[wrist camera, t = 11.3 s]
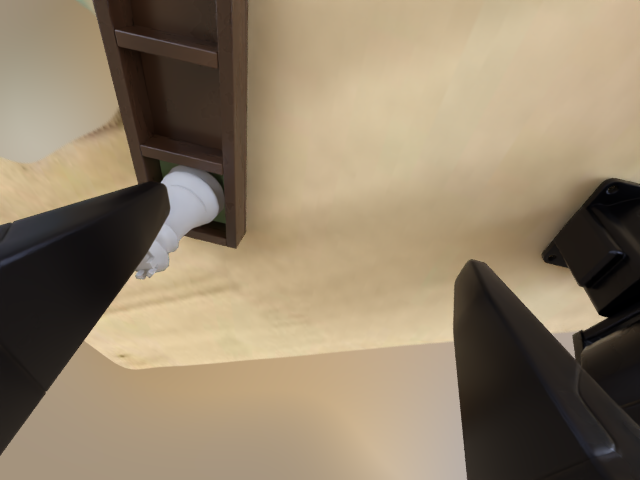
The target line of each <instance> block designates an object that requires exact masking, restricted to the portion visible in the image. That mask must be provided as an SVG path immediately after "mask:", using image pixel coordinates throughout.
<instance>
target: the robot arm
mask: <svg viewBox="0 0 640 480" xmlns="http://www.w3.org/2000/svg"><path fill="white" fill-rule="evenodd" d="M611 186H615V187H614V188H612V189H610V190H608V189H609V188H610V187H611ZM169 213H170V201H169V196H168V190H167V187H166V185H164V184H163V183H159V182H155V181H148V182H145V183H142V184H138V185H135V186H131V187H128V188H125V189H121V190H118V191H115V192H111V193H108V194H105V195H101V196H98V197H94V198H91V199H88V200H84V201H81V202H78V203H74V204H71V205H68V206H64V207H61V208H57V209H54V210H51V211H47V212H44V213H41V214H37V215H34V216H31V217H27V218H24V219H20V220H17V221H14V222H13V223H7V224H3V225H0V455H1V454H2V453H3V451H4V450H5V448H6V447H7V446H8V444H9V443H10V442H11V440H12V439H13V437H14V436H15V435H16V433H17V432H18V431H19V429H20V428H21V427H22V425H23V424H24V422H25V421H26V420H27V418H28V417H29V416H30V414H31V413H32V411H33V410H34V409H35V407H36V406H37V404H38V403H39V402H40V400H41V399H42V398H43V396H44V395H45V393H46V392H45V391H47V390H48V389H49V388H50V386H51V385H52V384H53V382H54V381H55V379H56V378H57V376H58V375H59V374H60V373H61V371H62V370H63V368H64V367H65V366H66V364H67V363H68V362H69V360H70V359H71V357H72V356H73V355H74V353H75V352H76V351H77V349H78V348H79V346H80V345H81V344H82V342H83V341H84V340H85V338H86V337H87V336H88V334H89V333H90V331H91V330H92V329H93V327H94V326H95V325H96V323H97V322H98V320H99V319H100V318H101V316H102V315H103V314H104V312H105V311H106V309H107V308H108V307H109V305H110V304H111V303H112V301H113V300H114V298H115V297H116V296H117V294H118V293H119V292H120V290H121V289H122V287H123V286H124V285H125V283H126V282H127V281H128V279H129V278H130V276H131V275H132V274H133V272H134V271H135V270H136V268H137V267H138V265H139V264H140V263H141V261H142V260H143V258H144V257H145V256H146V254H147V252H148V251H149V249H150V248H151V246H152V244H153V242H154V240H155V239H156V237H157V235H158V233H159V232H160V230H161V228H162V226H163V224H164V223H165V221H166V219H167V217H168V215H169ZM551 255H553V256H551ZM549 256H551V257H549ZM542 258H543V260H544V261H545V262H546V263H550V264H554V265H558V266H562V267H566V268H569V269H570V271H571V273H572V275H573V276H574V278H575V280H576V282H577V284H578V285H579V286H581V287H583V288H584V290H585V291H586V293H587V295H588V297H589V298H590V300H591V302H592V303H593V305H594V307H595V309H596V310H597V312H598V314H599V315H601V316H604V317H608V318H607V319H605V320H603V321H601V322H599V323H598V324H596V325H594V326H592V327H590V328H588V329H587V330H585V331H583V330H581V331H579V332H577V333H575V334H574V335H573V343H574V350H575V358H576V360H575V359H574V358H573V357H572V356H571V355H570V353H569V352H568V351H567V350H566V349H565V348H564V347H563V346H562V345H561V344H560V343H559V342H558V340H556V338H555V337H554V336H553V335H552V334H551V333H550V332H549V331H548V330H547V329H546V328H545V326H544V325H543V324H542V323H541V322H540V321H539V320H538V319H537V318H536V317H535V316H534V315H533V314H532V312H531V311H530V310H529V309H528V308H527V307H526V306H525V305H524V304H523V303H522V302H521V301H520V300H519V298H518V297H517V296H516V295H515V294H514V293H513V292H512V291H511V290H510V289H509V288H508V287H507V286H506V284H505V283H504V282H503V281H502V280H501V279H500V278H499V277H498V276H497V275H496V274H495V273H494V272H493V270H492V269H491V268H490V267H489V266H488V265H487V264H486V263H484V262H481V261H477V260H473V259H471V260H469V261H468V262H467V263H466V264H465V266H464V267H463V269H462V270H461V272H460V274H459V275H458V277H457V278H456V281H455V285H454V317H453V335H454V346H455V357H456V367H457V377H458V388H459V399H460V409H461V420H462V429H463V440H464V450H465V461H466V472H467V480H640V184H638V183H634V182H630V181H625V180H621V179H617V178H611V179H608V180H606V181H604V182H603V183H601V184H600V186H599V187H598V188H597V189H596V190H595V192H594V193H593V194H592V195H591V196H590V197H589V199H588V200H587V201H586V202H585V203H584V204H583V206H582V207H581V208H580V209H579V210H578V211H577V212H576V213H575V214H574V216H573V217H572V218H571V219H570V220H569V221H568V223H567V224H566V225H565V226H564V227H563V228H562V230H561V231H560V232H559V233H558V234H557V236H556V237H555V238H554V240H553V241H552V242H551V243H550V244H549V246H548V247H547V248H546V249H545V250H544V251H543V253H542Z"/></svg>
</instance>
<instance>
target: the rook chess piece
mask: <svg viewBox="0 0 640 480" xmlns="http://www.w3.org/2000/svg"><path fill="white" fill-rule="evenodd" d="M161 183H163V184H164V185H166V187H167V190H168V196H169V201H170V213H169V215H168V217H167V219H166V221H165V223H164V224H163V226H162V228H161V230H160V232H159V233H158V235H157V237H156V239H155V240H154V242H153V244H152V246H151V248H150V249H149V251H148V252H147V254H146V256H145V257H144V258H143V260H142V261H141V263H140V264H139V265H138V267H137V268H136V270H135V271H137V274H136V275H135V276H136V279H145V277H146V276H148V277H149V278H150V277H151V276H152V275H153V274H154V273H156V272H160V271H164V270H165V269H166V268H167V267H168V266H169V254H168V253H170V252H174V251H175V250H176V249H177V248H178V245H179V240H180V239H181V238H182V237H183V236H184V235H185V234H186V233H188V232H189V231H190V230H191V229H192V228H195V227H198V226H201V225H204V224H207V223H209V222H211V221H212V220H213V219H214V218H215V217H216V216H217V215H218V214H219V213H220V212H221V211H222V210H223V208H224V204H225V197H224V193H223V189H222V187H221V185H220V184H219V182H218V181H217V179H216V178H215V177H214V176H213V175H212V174H210V173H209V172H207V171H203V170H199V169H195V168H190V167H186V166H182V165H179V166H176V167H174V168H172V169H171V171H170V172H169V173H168V174H167V175H166V176H165V177H164V179H163V180H162V182H161Z"/></svg>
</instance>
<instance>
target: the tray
mask: <svg viewBox="0 0 640 480" xmlns="http://www.w3.org/2000/svg"><path fill="white" fill-rule="evenodd" d="M93 4H94V8H95V12H96V16H97V20H98V24H99V28H100V32H101V36H102V40H103V43H104V48H105V52H106V56H107V60H108V64H109V68H110V72H111V76H112V80H113V84H114V88H115V92H116V96H117V100H118V104H119V108H120V112H121V116H122V120H123V124H124V128H125V132H126V136H127V140H128V144H129V148H130V152H131V156H132V160H133V164H134V169H135V173H136V177H137V181H138V184H142V183H145V182H148V181H155V182H159V183H161V182H162V180H163V179H164V177H165V176H166V175H167V174H168V173H169V172H170V171H171V169H172V168H174V167H176V166H179V165H182V166H186V167H190V168H195V169H199V170H203V171H207V172H209V173H210V174H212V175H213V176H214V177H215V178H216V179H217V181H218V182H219V184H220V185H221V187H222V189H223V193H224V197H225V204H224V208H223V210H222V211H221V212H220V213H219V214H218V215H217V216H216V217H215V218H214V219H213V220H212V221H211V222H209V223H207V224H204V225H201V226H198V227H195V228H192V229H191V230H190V231H189V232H188V233H186V234H185V235H184V236H187V237H191V238H195V239H199V240H203V241H207V242H211V243H215V244H219V245H223V246H227V247H231V248H235V249H236V248H237V246H238V245H239V243H240V241H241V240H242V238H243V236H244V235H245V233H246V157H247V30H248V0H93Z"/></svg>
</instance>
